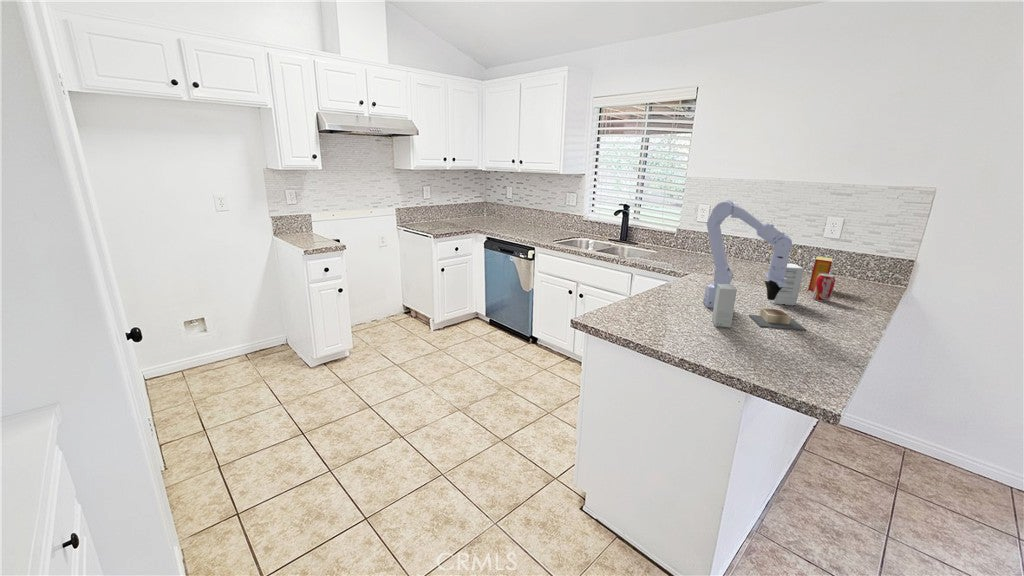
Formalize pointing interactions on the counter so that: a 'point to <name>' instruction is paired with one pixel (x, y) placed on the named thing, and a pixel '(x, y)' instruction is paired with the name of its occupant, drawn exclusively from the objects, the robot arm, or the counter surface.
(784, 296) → the supplement box
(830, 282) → the soda can
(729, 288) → the skincare box
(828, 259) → the baking soda box
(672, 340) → the counter surface
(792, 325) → the mat
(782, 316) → the maple slab
